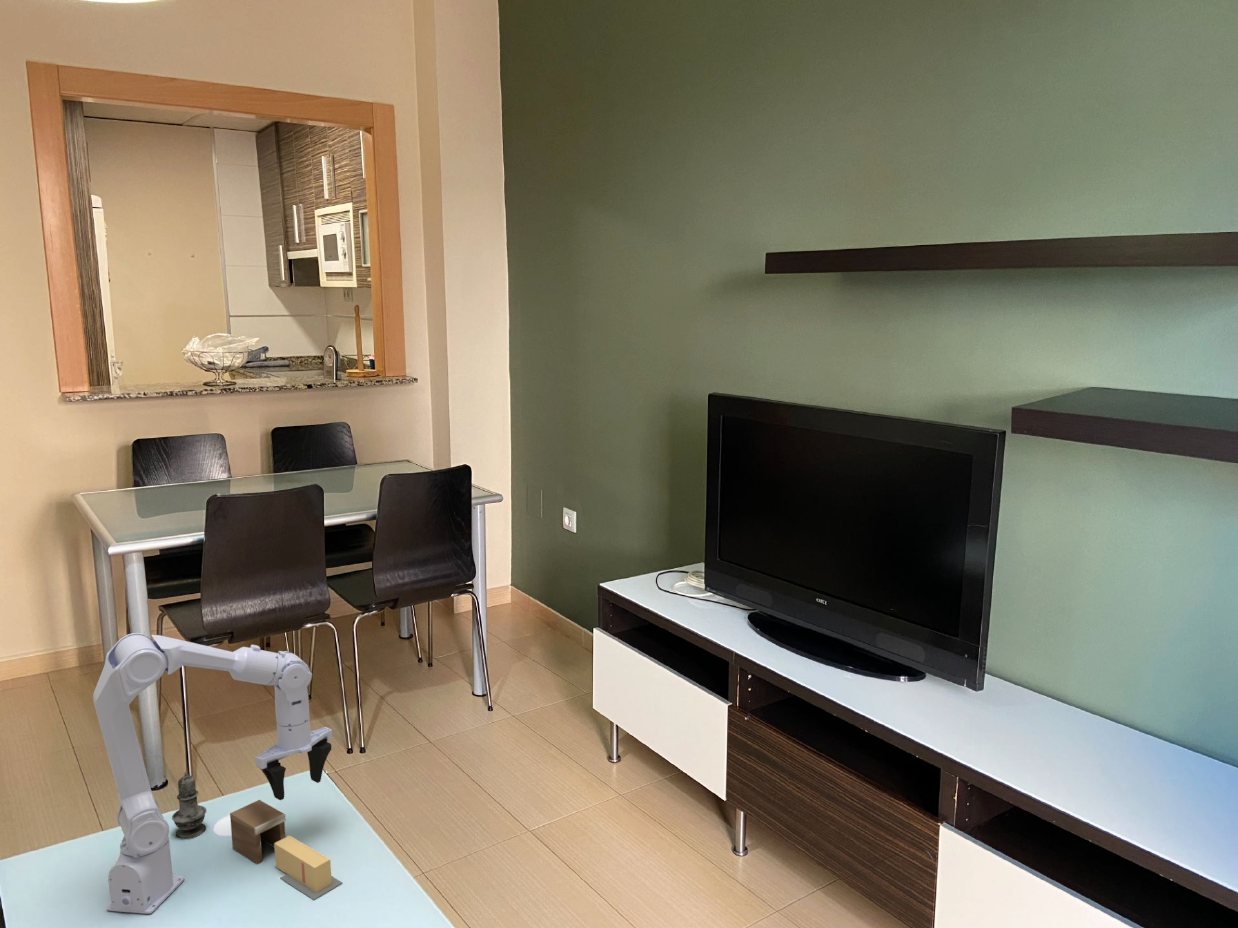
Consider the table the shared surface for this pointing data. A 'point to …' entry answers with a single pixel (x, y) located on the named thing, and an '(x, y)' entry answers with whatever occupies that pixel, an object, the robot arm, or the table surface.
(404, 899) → the table surface
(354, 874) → the table surface
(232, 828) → the brown wooden open box
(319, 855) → the tan rectangular block
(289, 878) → the mat
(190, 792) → the grey stone finial
